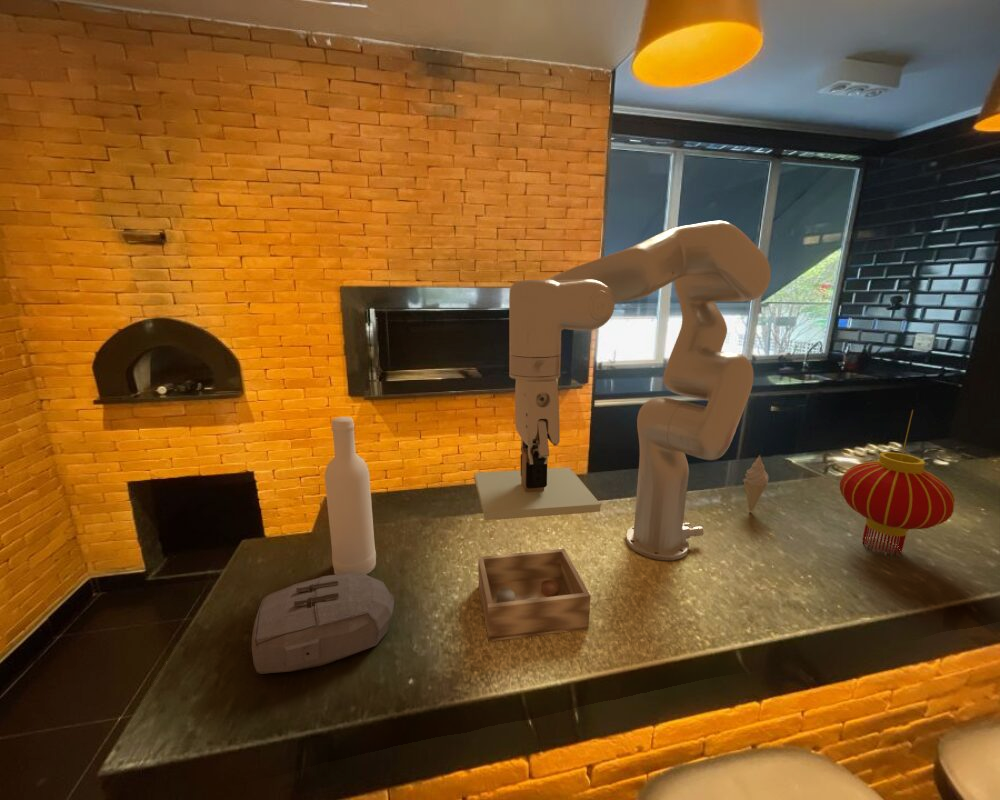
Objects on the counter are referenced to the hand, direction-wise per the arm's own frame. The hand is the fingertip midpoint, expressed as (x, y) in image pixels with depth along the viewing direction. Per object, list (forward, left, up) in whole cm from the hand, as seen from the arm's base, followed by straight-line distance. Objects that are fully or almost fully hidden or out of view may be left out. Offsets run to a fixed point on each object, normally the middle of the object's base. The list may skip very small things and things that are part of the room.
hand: (533, 480), depth 67 cm
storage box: (0, 0, -23) cm, 23 cm away
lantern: (-77, -5, -23) cm, 80 cm away
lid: (0, 0, -2) cm, 2 cm away
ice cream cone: (-61, -23, -23) cm, 69 cm away
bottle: (+31, -16, -23) cm, 42 cm away
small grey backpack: (+32, +1, -23) cm, 40 cm away
